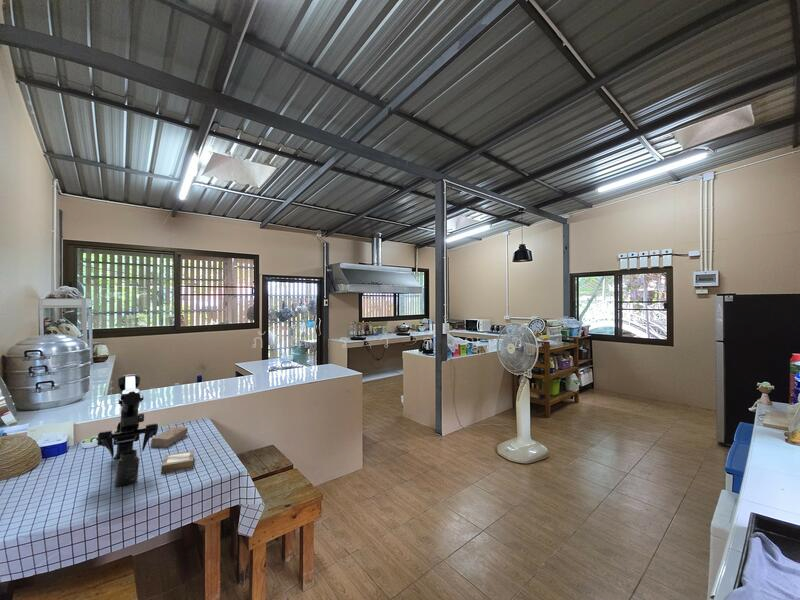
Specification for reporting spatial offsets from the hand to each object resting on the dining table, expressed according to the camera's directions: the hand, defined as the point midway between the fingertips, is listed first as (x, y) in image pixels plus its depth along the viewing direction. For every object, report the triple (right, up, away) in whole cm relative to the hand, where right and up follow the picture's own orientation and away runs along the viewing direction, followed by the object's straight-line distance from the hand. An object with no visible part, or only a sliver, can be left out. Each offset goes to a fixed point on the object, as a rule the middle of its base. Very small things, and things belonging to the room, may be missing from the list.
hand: (128, 453), depth 126 cm
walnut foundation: (+11, -11, +13) cm, 20 cm away
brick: (-11, -12, +38) cm, 42 cm away
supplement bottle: (+2, -10, -3) cm, 11 cm away
